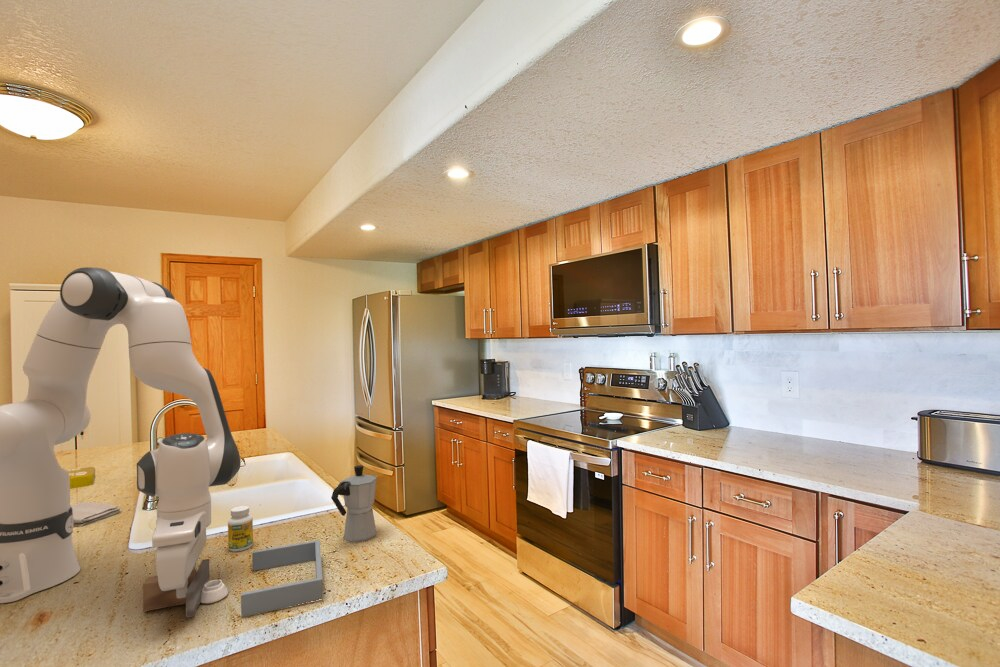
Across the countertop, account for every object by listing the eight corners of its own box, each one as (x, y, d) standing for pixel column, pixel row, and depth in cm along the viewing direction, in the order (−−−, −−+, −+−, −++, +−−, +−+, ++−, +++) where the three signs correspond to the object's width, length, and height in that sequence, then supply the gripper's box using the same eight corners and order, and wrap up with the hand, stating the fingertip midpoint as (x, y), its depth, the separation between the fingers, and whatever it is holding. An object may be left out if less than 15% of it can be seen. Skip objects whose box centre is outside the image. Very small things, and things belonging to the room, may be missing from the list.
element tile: (95, 477, 184) (95, 465, 184) (93, 486, 172) (92, 473, 172) (42, 485, 175) (42, 472, 175) (35, 495, 163) (35, 481, 163)
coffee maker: (366, 524, 130) (365, 458, 130) (390, 530, 126) (388, 462, 126) (321, 544, 117) (319, 472, 117) (345, 552, 113) (344, 476, 113)
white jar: (192, 601, 93) (208, 607, 90) (192, 586, 93) (208, 592, 90) (218, 589, 97) (233, 595, 95) (217, 575, 97) (233, 580, 95)
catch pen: (241, 617, 87) (240, 595, 87) (252, 569, 105) (252, 551, 105) (322, 600, 92) (322, 579, 92) (320, 557, 111) (319, 539, 111)
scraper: (132, 628, 83) (132, 599, 83) (157, 589, 96) (157, 564, 96) (193, 616, 86) (193, 588, 86) (209, 580, 99) (209, 556, 99)
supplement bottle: (251, 540, 120) (251, 503, 121) (254, 548, 116) (253, 509, 116) (227, 546, 118) (226, 507, 118) (229, 554, 113) (228, 514, 113)
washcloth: (83, 529, 132) (82, 517, 132) (32, 525, 136) (32, 514, 136) (124, 513, 144) (124, 503, 144) (77, 510, 147) (77, 500, 147)
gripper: (179, 504, 101) (180, 569, 100) (148, 542, 82) (149, 622, 81) (213, 500, 103) (214, 564, 103) (191, 535, 84) (192, 614, 84)
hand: (185, 590), depth 92 cm, fingers open, 3 cm apart
